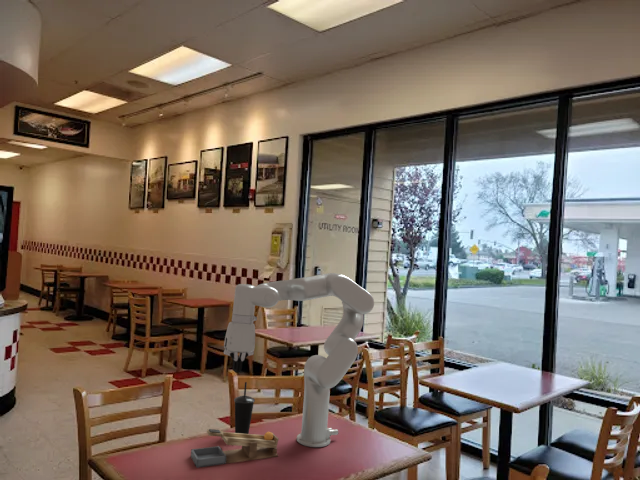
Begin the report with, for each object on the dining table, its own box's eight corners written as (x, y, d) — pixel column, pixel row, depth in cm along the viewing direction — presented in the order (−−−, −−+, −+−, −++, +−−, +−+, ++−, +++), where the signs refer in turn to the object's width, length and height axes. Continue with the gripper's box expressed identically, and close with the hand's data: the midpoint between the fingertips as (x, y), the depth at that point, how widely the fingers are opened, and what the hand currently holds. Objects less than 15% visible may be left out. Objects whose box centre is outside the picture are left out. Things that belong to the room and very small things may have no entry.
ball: (270, 439, 173) (272, 430, 173) (273, 443, 170) (275, 433, 170) (262, 439, 171) (263, 430, 171) (265, 443, 168) (266, 433, 169)
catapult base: (269, 446, 175) (270, 431, 175) (278, 456, 168) (279, 439, 168) (219, 453, 167) (220, 436, 167) (226, 463, 159) (227, 446, 160)
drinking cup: (247, 441, 179) (252, 386, 179) (228, 438, 180) (232, 383, 181) (254, 434, 186) (258, 381, 187) (235, 431, 188) (239, 378, 188)
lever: (265, 436, 178) (267, 427, 178) (276, 448, 169) (278, 438, 169) (206, 432, 168) (208, 423, 168) (214, 444, 159) (217, 434, 159)
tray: (218, 453, 167) (219, 446, 167) (225, 463, 159) (226, 456, 159) (190, 457, 162) (191, 449, 162) (196, 467, 155) (197, 459, 155)
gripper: (259, 318, 180) (253, 368, 179) (219, 316, 173) (213, 369, 173) (266, 322, 173) (260, 374, 173) (224, 320, 167) (218, 374, 166)
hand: (236, 371), depth 173 cm, fingers closed
